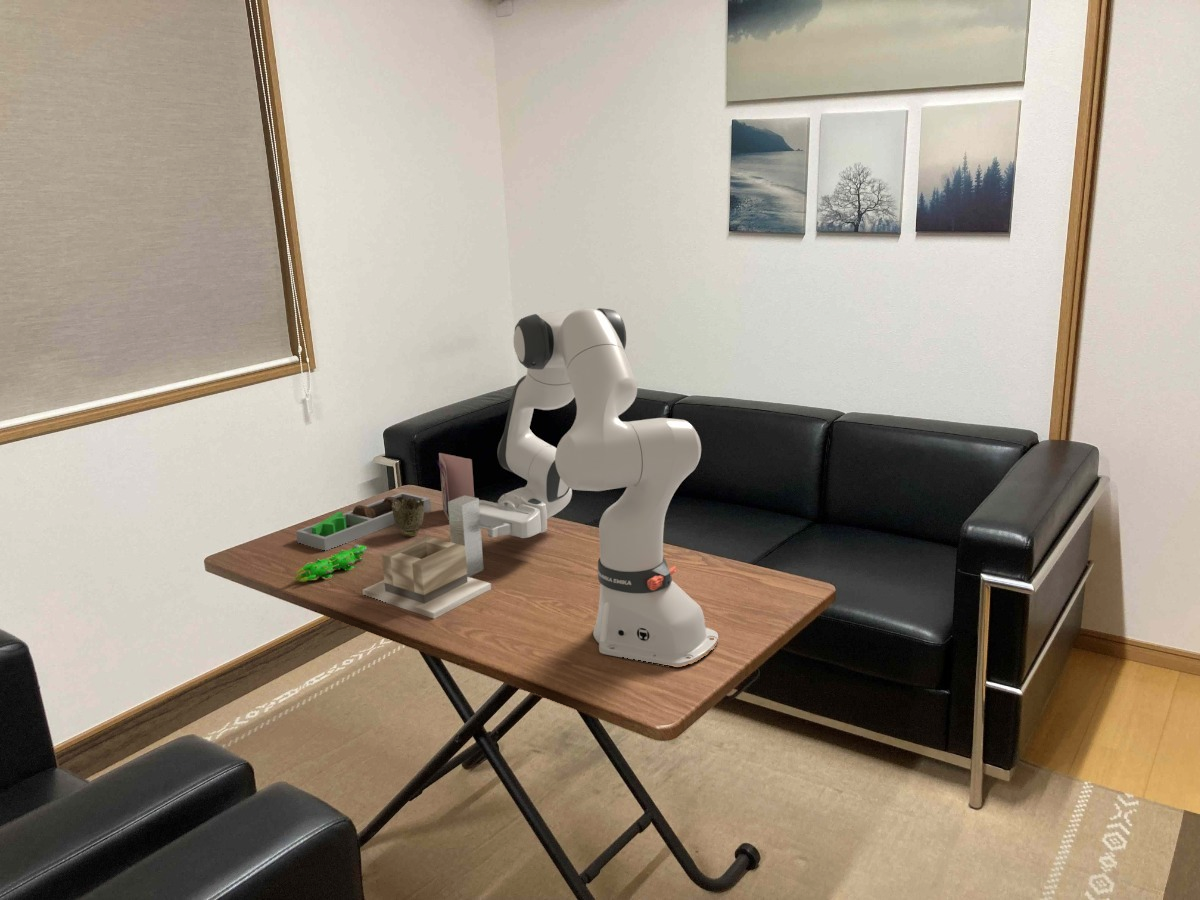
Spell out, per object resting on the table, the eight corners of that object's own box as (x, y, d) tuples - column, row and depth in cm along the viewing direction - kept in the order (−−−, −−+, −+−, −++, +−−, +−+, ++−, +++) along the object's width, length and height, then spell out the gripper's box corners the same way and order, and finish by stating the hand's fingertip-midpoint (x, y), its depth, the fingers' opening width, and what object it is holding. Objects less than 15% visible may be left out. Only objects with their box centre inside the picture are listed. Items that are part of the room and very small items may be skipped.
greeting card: (439, 510, 237) (435, 453, 233) (468, 506, 239) (464, 449, 235) (446, 524, 226) (442, 465, 222) (477, 520, 228) (473, 461, 224)
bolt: (407, 516, 239) (362, 532, 227) (394, 504, 240) (349, 520, 228) (414, 499, 236) (369, 514, 224) (401, 487, 238) (356, 502, 226)
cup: (433, 532, 221) (430, 500, 219) (411, 542, 215) (408, 510, 213) (409, 527, 225) (407, 496, 223) (387, 537, 219) (384, 505, 217)
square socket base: (491, 588, 189) (488, 547, 186) (434, 618, 176) (430, 574, 174) (421, 568, 200) (417, 528, 198) (363, 595, 188) (358, 553, 185)
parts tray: (430, 509, 237) (430, 498, 236) (325, 551, 211) (324, 539, 211) (403, 503, 243) (402, 492, 242) (297, 543, 217) (296, 530, 216)
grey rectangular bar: (483, 569, 198) (478, 498, 194) (467, 578, 195) (461, 505, 190) (469, 566, 201) (464, 495, 196) (453, 574, 197) (447, 501, 192)
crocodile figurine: (376, 562, 205) (374, 543, 204) (307, 590, 191) (304, 571, 190) (357, 555, 209) (355, 537, 208) (287, 583, 195) (285, 564, 194)
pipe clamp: (327, 547, 214) (325, 529, 213) (313, 546, 215) (311, 527, 214) (354, 530, 224) (352, 512, 223) (340, 529, 226) (338, 511, 224)
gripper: (480, 489, 213) (437, 507, 202) (551, 504, 201) (508, 523, 190) (482, 516, 214) (439, 534, 204) (552, 532, 203) (510, 552, 192)
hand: (473, 529), depth 197 cm, fingers open, 8 cm apart
